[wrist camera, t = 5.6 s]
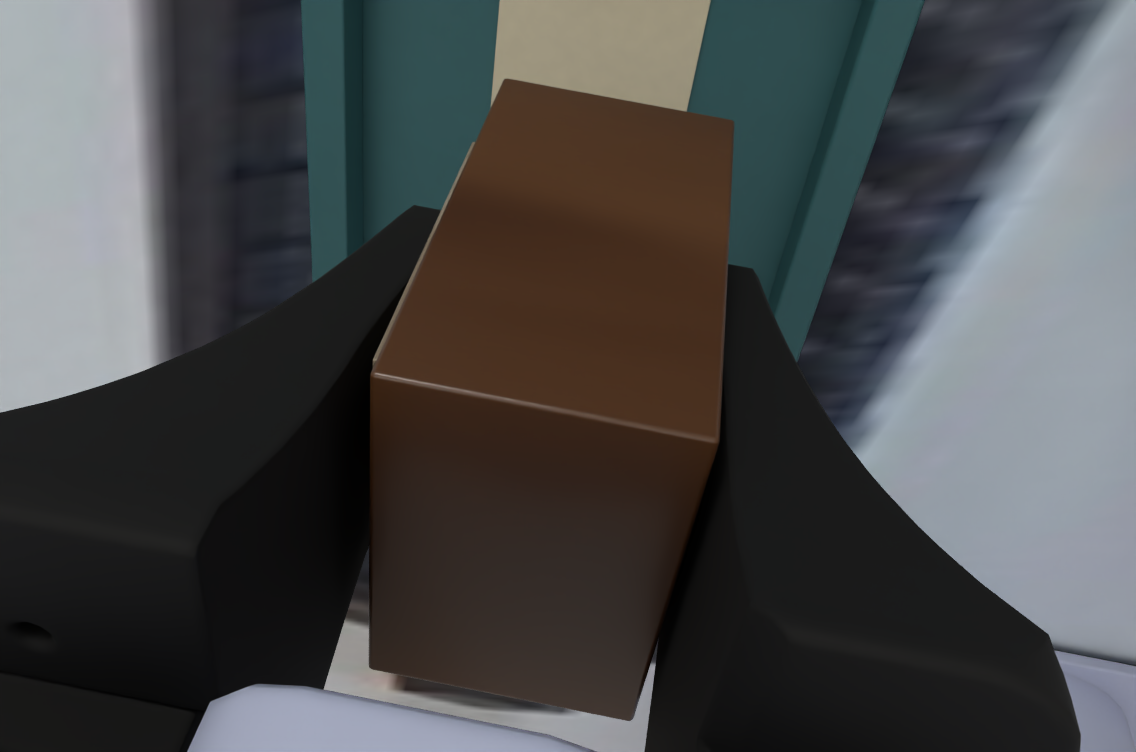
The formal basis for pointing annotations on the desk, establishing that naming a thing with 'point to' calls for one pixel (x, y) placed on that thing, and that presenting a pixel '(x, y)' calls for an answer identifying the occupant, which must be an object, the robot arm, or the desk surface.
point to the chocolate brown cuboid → (551, 401)
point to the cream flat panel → (603, 47)
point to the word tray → (720, 89)
